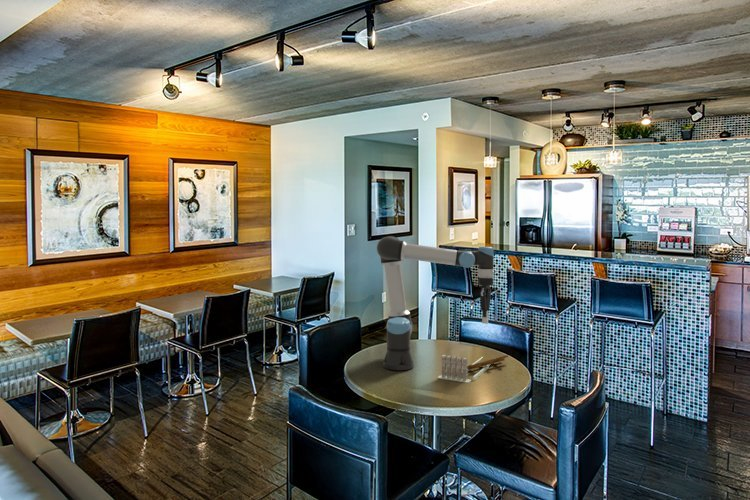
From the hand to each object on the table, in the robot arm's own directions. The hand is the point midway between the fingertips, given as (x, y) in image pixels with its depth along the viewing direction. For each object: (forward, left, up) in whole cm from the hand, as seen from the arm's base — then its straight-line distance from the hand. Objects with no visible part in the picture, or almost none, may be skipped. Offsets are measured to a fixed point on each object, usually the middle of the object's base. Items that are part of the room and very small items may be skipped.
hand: (485, 323), depth 253 cm
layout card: (-5, -33, -21) cm, 39 cm away
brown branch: (0, -6, -20) cm, 21 cm away
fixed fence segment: (-5, -33, -20) cm, 39 cm away
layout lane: (0, -12, -21) cm, 24 cm away
